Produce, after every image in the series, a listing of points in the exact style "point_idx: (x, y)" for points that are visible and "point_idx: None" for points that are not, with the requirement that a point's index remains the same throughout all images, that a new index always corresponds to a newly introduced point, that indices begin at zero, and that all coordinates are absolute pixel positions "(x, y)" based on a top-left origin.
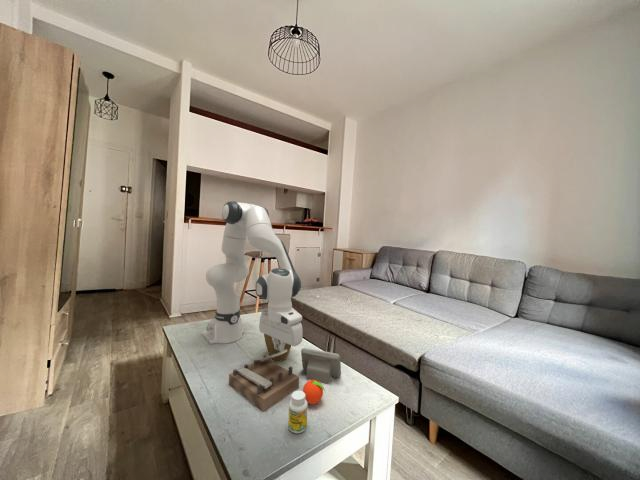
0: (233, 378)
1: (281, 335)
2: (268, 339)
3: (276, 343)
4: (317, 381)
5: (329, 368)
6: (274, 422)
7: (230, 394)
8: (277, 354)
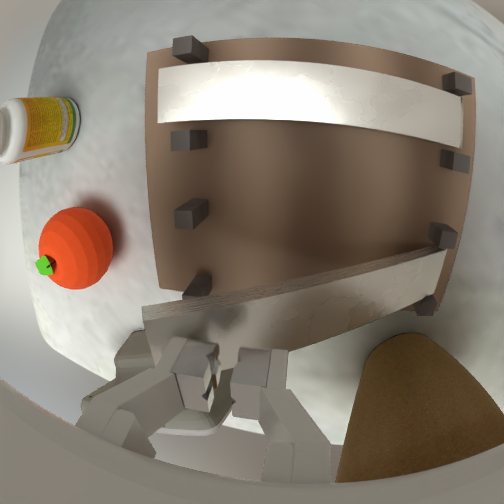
0: (433, 64)
1: (8, 474)
2: (460, 400)
3: (264, 409)
4: (52, 279)
5: (116, 372)
6: (112, 73)
7: (381, 38)
8: (208, 302)
